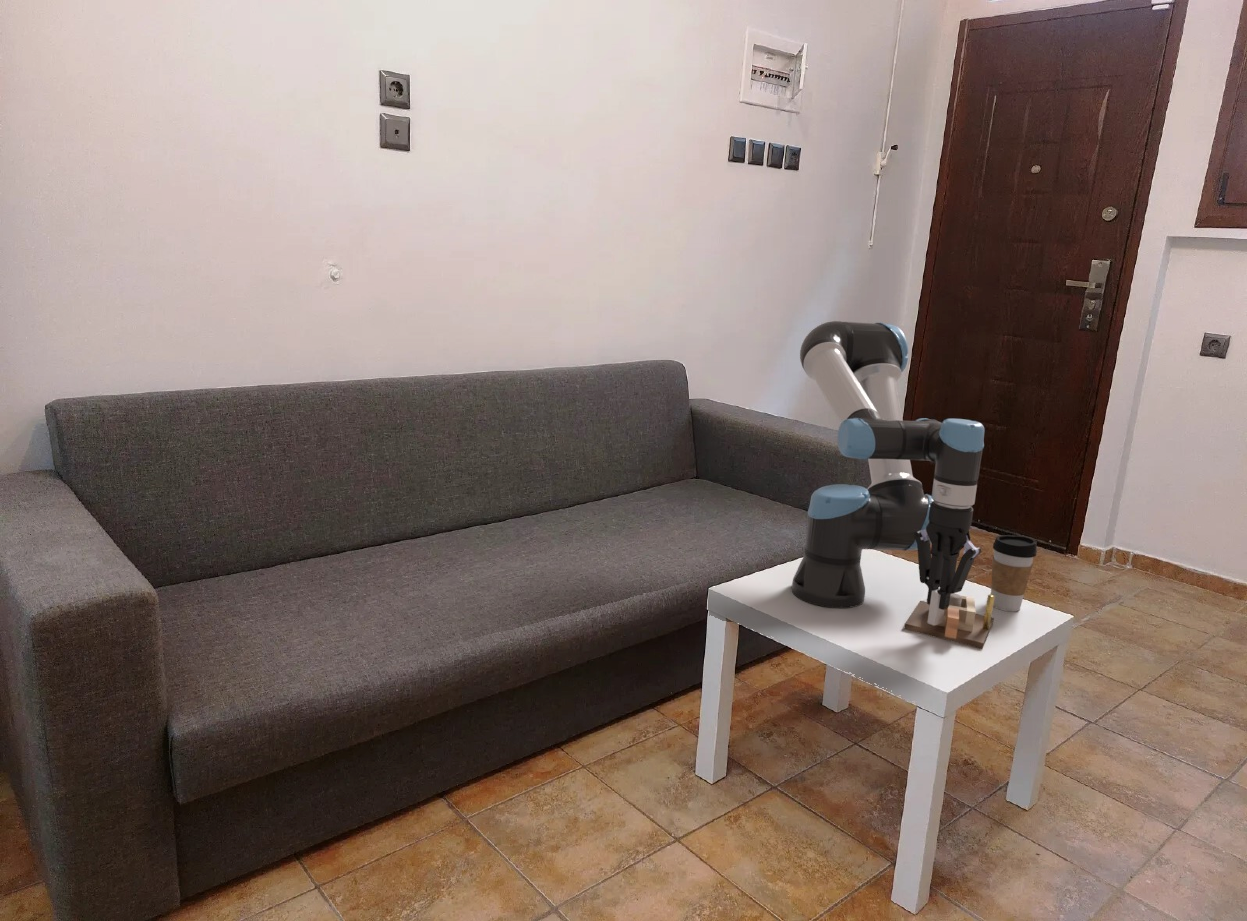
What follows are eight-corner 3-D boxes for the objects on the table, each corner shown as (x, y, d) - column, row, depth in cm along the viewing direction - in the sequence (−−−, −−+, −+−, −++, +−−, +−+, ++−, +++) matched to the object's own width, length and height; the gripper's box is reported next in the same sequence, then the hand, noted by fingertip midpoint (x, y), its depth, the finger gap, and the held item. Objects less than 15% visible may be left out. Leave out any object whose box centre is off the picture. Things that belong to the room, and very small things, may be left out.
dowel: (982, 628, 168) (987, 595, 166) (983, 626, 169) (988, 594, 167) (988, 630, 167) (994, 597, 165) (989, 628, 168) (995, 595, 166)
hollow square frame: (929, 609, 176) (932, 590, 175) (971, 616, 173) (974, 597, 172) (927, 633, 164) (930, 613, 163) (973, 641, 161) (976, 622, 160)
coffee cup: (1031, 616, 178) (1043, 547, 175) (987, 610, 180) (999, 542, 176) (1021, 601, 186) (1032, 535, 183) (980, 596, 188) (990, 530, 184)
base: (903, 629, 168) (908, 598, 167) (919, 605, 180) (923, 577, 179) (982, 649, 161) (987, 617, 160) (993, 623, 174) (998, 593, 172)
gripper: (909, 497, 162) (894, 614, 167) (972, 515, 152) (953, 639, 157) (933, 492, 166) (917, 607, 172) (996, 509, 156) (977, 631, 161)
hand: (934, 622), depth 164 cm, fingers closed
